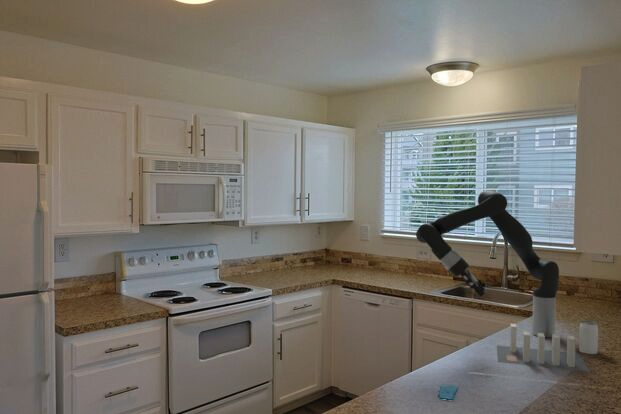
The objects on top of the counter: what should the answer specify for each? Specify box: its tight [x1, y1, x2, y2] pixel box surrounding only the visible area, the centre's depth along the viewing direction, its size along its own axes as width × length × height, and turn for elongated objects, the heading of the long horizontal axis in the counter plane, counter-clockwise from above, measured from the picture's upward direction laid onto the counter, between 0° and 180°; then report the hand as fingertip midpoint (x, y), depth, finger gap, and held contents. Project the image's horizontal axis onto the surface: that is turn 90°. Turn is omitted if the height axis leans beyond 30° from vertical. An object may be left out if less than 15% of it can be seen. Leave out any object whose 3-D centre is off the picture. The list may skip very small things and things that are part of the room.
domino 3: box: [536, 333, 546, 364], centre depth 191 cm, size 5×2×10 cm, turn 161°
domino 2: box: [522, 331, 531, 362], centre depth 193 cm, size 5×2×10 cm, turn 161°
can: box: [578, 320, 599, 355], centre depth 204 cm, size 6×6×12 cm
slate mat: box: [496, 344, 590, 373], centre depth 196 cm, size 22×30×1 cm
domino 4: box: [551, 333, 561, 365], centre depth 189 cm, size 5×2×10 cm, turn 161°
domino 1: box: [509, 323, 518, 352], centre depth 204 cm, size 5×2×10 cm, turn 161°
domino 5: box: [566, 334, 576, 367], centre depth 188 cm, size 5×2×10 cm, turn 161°
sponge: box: [437, 384, 459, 401], centre depth 161 cm, size 2×12×6 cm
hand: (483, 292), depth 208 cm, fingers open, 8 cm apart
